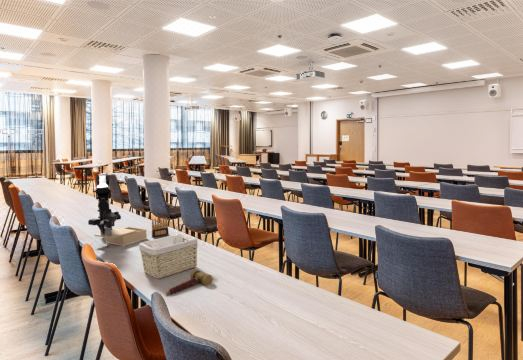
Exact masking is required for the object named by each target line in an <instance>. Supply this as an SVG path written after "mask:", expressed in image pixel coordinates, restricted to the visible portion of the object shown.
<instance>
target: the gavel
mask: <svg viewBox="0 0 523 360" xmlns="http://www.w3.org/2000/svg"><path fill="white" fill-rule="evenodd" d="M197 283H202V285H205V286H209V285H211V284H212V283H213V276H212V275H211V274H208V273H204V272H201V271H200V270H197V269H194V270H193V271H192V272H191V273H190V279H189V280H186V281H183V282H182V283H180V284H178V285H175V286H174V287H171V288H170V289H168V290H167V292H165V296H168V294H170V295H174V294H176V292H177V293H178V292H181V291H183V290H186V289H188V288H189V287H191V286H194V285H196V284H197ZM173 293H174V294H173Z"/></svg>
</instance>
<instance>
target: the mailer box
mask: <svg viewBox="0 0 523 360" xmlns="http://www.w3.org/2000/svg"><path fill="white" fill-rule="evenodd" d="M123 228H124V229H131V230H137V232H134V233H130V234H127V235H124V236H120V237H117V238H114V239H111V238H105V243H106V244H110V245H111V244H112V245H117V246H123V247H125V246H128V245H130V244H134V243H138V242H141V241H144V240H147V238H148V237H147V228H141V227H140V228H139V227H133V226H132V227H131V226H127V227H123Z"/></svg>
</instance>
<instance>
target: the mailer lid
mask: <svg viewBox="0 0 523 360" xmlns="http://www.w3.org/2000/svg"><path fill="white" fill-rule="evenodd" d="M124 228H125V227H116V228H114V229H113V228H112V230H111V228H110V227H104V230H105V234H102V232H101V230H100V229H99V230H100V232H98V233H95V234H94V237H100V238H105V239H106V238H111V239H114V238H117V237H120V236H124V235H127V234H130V233H134V232H137V230H131V229H124Z"/></svg>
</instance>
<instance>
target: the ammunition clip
mask: <svg viewBox="0 0 523 360" xmlns="http://www.w3.org/2000/svg"><path fill="white" fill-rule="evenodd" d="M169 232H170V231H169V224H168V218H167V217H165V218H164V217H162V218H161V217H160V219H159V218H157V219H156V218H154V219H153V218H152V220H151V238H154V239H156V238H159V237H160V238H162V237H168V236H170V234H169Z"/></svg>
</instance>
